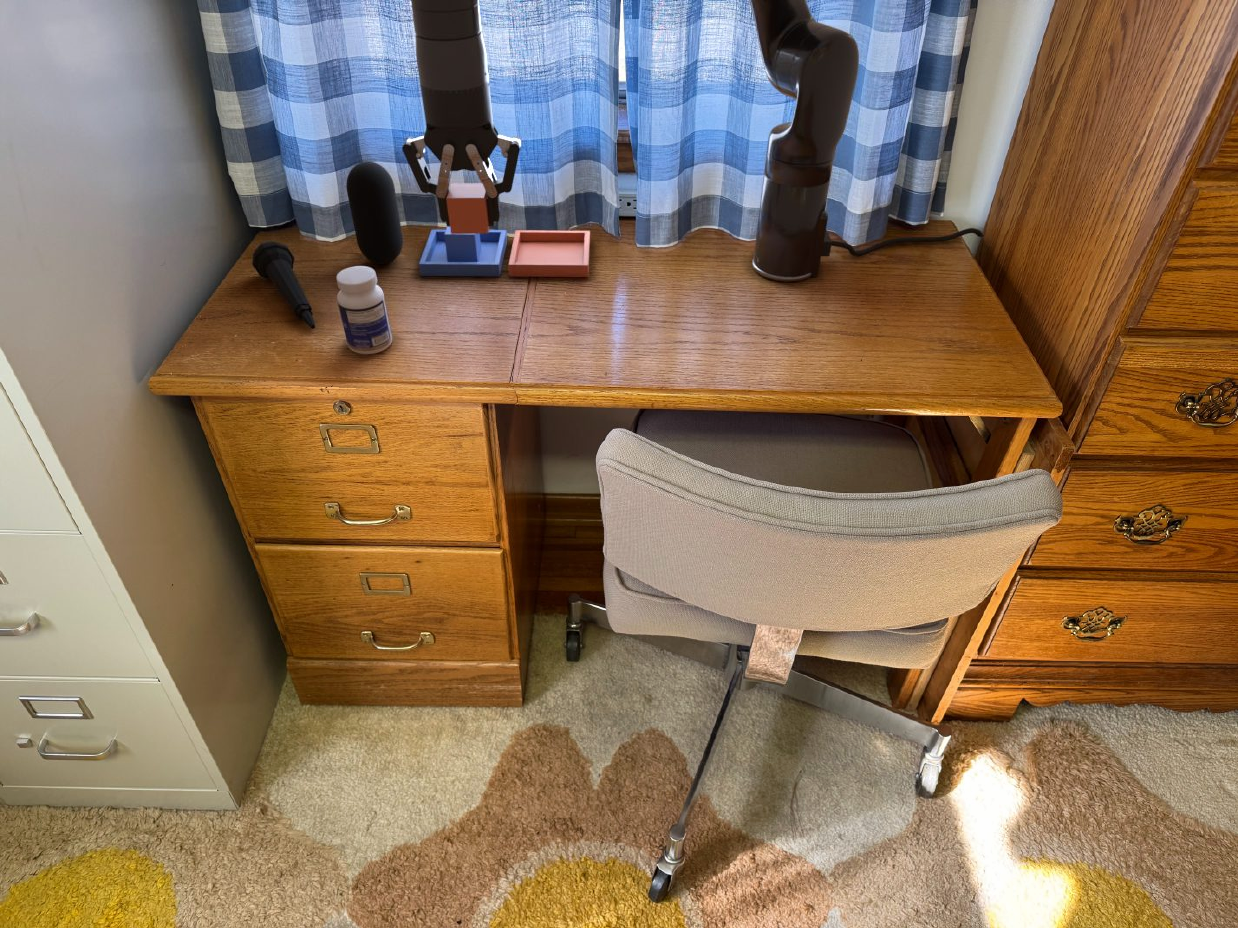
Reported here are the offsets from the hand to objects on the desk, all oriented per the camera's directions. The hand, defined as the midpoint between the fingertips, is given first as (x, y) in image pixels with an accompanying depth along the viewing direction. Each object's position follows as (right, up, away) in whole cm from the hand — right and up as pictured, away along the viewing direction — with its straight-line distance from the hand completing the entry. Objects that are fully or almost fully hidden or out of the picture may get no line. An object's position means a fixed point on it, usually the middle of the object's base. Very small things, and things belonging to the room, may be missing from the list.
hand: (471, 223), depth 104 cm
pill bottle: (-14, -14, +6) cm, 21 cm away
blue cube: (-5, +2, +24) cm, 25 cm away
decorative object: (-17, +1, +24) cm, 29 cm away
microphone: (-28, -7, +15) cm, 33 cm away
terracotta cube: (0, 0, 0) cm, 0 cm away
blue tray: (-5, +2, +25) cm, 25 cm away
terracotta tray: (+8, +2, +25) cm, 26 cm away
